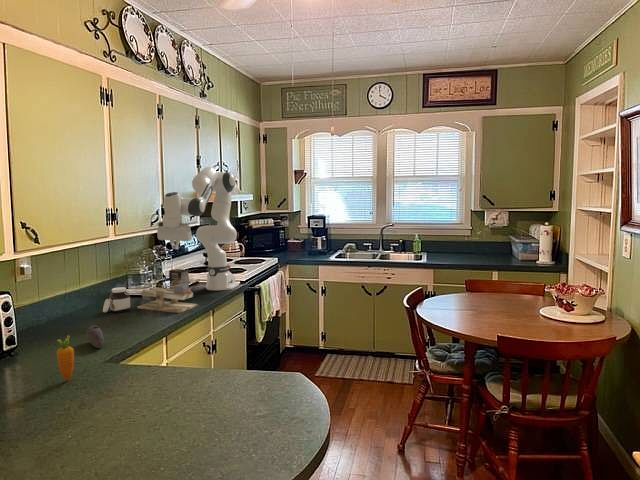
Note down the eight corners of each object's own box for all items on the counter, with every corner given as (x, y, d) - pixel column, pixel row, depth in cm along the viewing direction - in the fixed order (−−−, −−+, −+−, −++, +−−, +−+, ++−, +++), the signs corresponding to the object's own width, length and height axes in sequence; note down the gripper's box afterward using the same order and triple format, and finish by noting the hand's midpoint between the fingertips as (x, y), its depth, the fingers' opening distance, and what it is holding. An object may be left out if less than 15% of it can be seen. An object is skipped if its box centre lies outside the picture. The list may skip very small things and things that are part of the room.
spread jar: (133, 310, 246) (131, 288, 245) (113, 315, 237) (111, 292, 236) (118, 307, 253) (117, 285, 251) (98, 312, 243) (97, 289, 242)
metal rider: (179, 292, 250) (178, 284, 250) (188, 293, 248) (188, 285, 247) (173, 294, 246) (173, 285, 246) (183, 295, 244) (183, 286, 244)
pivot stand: (157, 301, 264) (156, 283, 263) (197, 305, 254) (196, 287, 252) (137, 308, 250) (136, 289, 249) (179, 313, 240) (178, 293, 239)
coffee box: (169, 298, 272) (168, 270, 270) (178, 296, 277) (176, 268, 275) (181, 300, 267) (180, 271, 265) (190, 297, 273) (188, 269, 271)
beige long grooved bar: (152, 296, 260) (152, 284, 260) (193, 301, 250) (192, 289, 249) (141, 299, 253) (141, 287, 252) (183, 304, 243) (182, 292, 242)
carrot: (58, 385, 154) (55, 340, 152) (59, 379, 158) (55, 335, 156) (76, 382, 156) (72, 337, 154) (75, 376, 160) (72, 333, 159)
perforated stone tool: (107, 349, 188) (106, 332, 187) (92, 352, 185) (91, 334, 184) (100, 339, 200) (99, 323, 199) (86, 342, 197) (85, 325, 196)
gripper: (193, 222, 254) (195, 248, 256) (162, 222, 262) (164, 247, 264) (186, 224, 249) (187, 250, 251) (154, 223, 256) (156, 248, 258)
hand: (175, 248), depth 257 cm, fingers closed
